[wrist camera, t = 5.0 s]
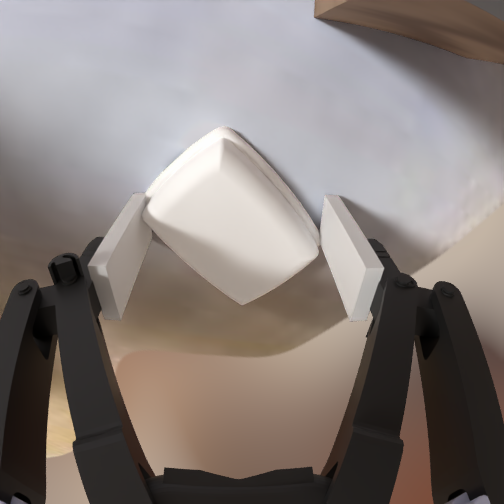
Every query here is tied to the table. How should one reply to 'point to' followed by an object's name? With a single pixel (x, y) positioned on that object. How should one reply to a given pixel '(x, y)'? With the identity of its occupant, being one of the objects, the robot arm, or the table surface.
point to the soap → (231, 217)
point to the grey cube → (490, 7)
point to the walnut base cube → (426, 23)
